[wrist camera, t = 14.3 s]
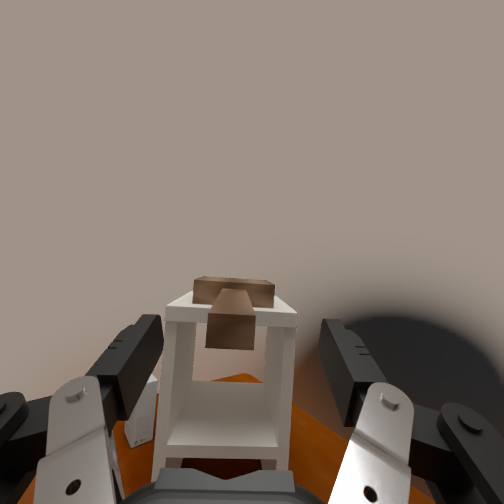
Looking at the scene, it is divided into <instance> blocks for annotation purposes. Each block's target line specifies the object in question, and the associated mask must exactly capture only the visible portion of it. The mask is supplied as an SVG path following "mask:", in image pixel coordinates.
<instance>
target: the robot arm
mask: <svg viewBox="0 0 504 504" xmlns="http://www.w3.org/2000/svg"><path fill="white" fill-rule="evenodd" d="M163 346H164V337H163V330H162V323H161V317H160V316H159V315H151V314H150V315H148V314H143V315H142V316H141V317H140V319H139V320H138V321H137V322H136V324H135V325H130V326H128V327H127V328H125V329H124V330H122V331H121V332H120V333H119V334H118V335H117V336H116V338H115V339H114V341H113V342H112V343H111V344H110V345H109V346H108V349H106V350H105V351H104V353H103V354H102V355H101V356H100V357H99V359H98V360H97V361H96V362H95V363H94V365H93V366H92V367H91V368H90V370H89V371H88V372H87V373H86V375H85V376H82V377H79V378H76V379H74V380H71V381H69V382H68V383H66V384H64V385H63V386H62V387H60V388H59V389H58V390H57V391H56V392H55V394H54V395H52V396H49V397H44V398H40V399H36V400H32V401H28V402H26V400H25V398H24V396H23V394H22V393H19V392H9V393H5V394H2V395H0V504H17V503H18V501H19V500H20V498H21V497H22V495H23V494H24V492H25V490H26V489H27V487H28V486H29V484H30V483H31V481H32V480H33V478H34V477H35V475H36V483H35V493H34V503H33V504H324V502H322V501H321V500H320V499H319V498H318V497H317V496H316V495H314V494H313V493H311V492H310V491H309V490H307V489H305V488H303V487H301V486H300V485H297V484H294V479H293V471H280V470H258V471H255V472H252V473H249V474H245V475H242V476H239V477H236V478H232V479H229V480H222V479H220V478H217V477H214V476H212V475H209V474H206V473H204V472H201V471H198V470H196V469H193V468H160V471H159V474H158V477H157V480H156V481H154V482H151V483H149V484H147V485H145V486H143V487H141V488H139V489H138V490H136V491H134V492H133V493H131V494H130V495H129V496H127V497H126V498H125V495H124V491H123V487H122V482H121V477H120V471H119V465H118V459H117V453H116V447H115V442H114V436H113V431H112V429H113V427H114V425H115V423H116V422H117V421H128V420H129V418H130V416H131V414H132V412H133V410H134V408H135V406H136V404H137V402H138V400H139V398H140V396H141V394H142V392H143V390H144V388H145V386H146V384H147V382H148V380H149V378H150V376H151V374H152V371H153V369H154V368H155V366H156V364H157V362H158V359H159V357H160V356H161V353H162V351H163ZM319 356H320V359H321V362H322V365H323V368H324V371H325V374H326V376H327V379H328V382H329V385H330V388H331V391H332V394H333V397H334V400H335V403H336V406H337V408H338V411H339V414H340V417H341V420H342V423H343V426H344V427H354V429H355V430H354V431H353V433H352V436H351V439H350V442H349V445H348V448H347V451H346V454H345V456H344V459H343V462H342V465H341V468H340V471H339V474H338V477H337V480H336V483H335V486H334V489H333V492H332V494H331V497H330V500H329V503H328V504H408V499H409V489H410V480H411V474H413V475H415V476H418V477H420V478H423V479H424V480H425V481H426V484H427V485H428V488H429V490H430V492H431V494H432V496H433V498H434V500H435V502H436V504H504V439H503V438H502V436H500V434H499V433H498V432H497V431H496V430H495V428H494V427H493V426H492V425H491V424H490V423H489V422H488V421H487V420H486V419H485V418H484V417H482V416H481V415H480V414H478V413H477V412H475V411H474V410H472V409H470V408H468V407H466V406H463V405H461V404H457V403H446V404H444V405H443V406H442V409H441V411H440V412H439V411H436V410H433V409H430V408H426V407H423V406H420V405H416V404H414V403H412V402H411V401H410V399H409V398H408V397H407V396H406V395H405V394H404V393H403V392H402V391H401V390H399V389H398V388H396V387H394V386H392V385H390V384H388V382H387V380H386V379H385V377H384V376H383V374H382V372H381V371H380V369H379V368H378V366H377V364H376V363H375V361H374V359H373V358H372V356H370V353H369V351H368V350H367V348H366V347H365V345H364V343H363V342H362V340H361V339H360V337H359V336H357V335H356V334H355V333H354V332H353V331H352V330H345V328H344V326H343V325H342V323H341V321H340V320H339V319H323V320H322V324H321V331H320V338H319Z"/></svg>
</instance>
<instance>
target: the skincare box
mask: <svg viewBox="0 0 504 504" xmlns="http://www.w3.org/2000/svg"><path fill="white" fill-rule="evenodd" d="M157 383H158V380H157V379H156V378H155V377H154V375H153V374H151V376H150V378H149V380H148V382H147V384H146V386H145V388H144V390H143V392H142V394H141V396H140V398H139V400H138V402H137V404H136V406H135V408H134V410H133V412H132V414H131V416H130V418H129V420H128V421H125V428H124V432H125V435H126V437H127V440H128V442H129V445H130V447H131V448H133V447H136V446H138V445H141V444H143V443H145V442H148V441H150V440H152V438H153V428H154V417H155V406H156V394H157Z"/></svg>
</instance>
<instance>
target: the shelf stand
mask: <svg viewBox="0 0 504 504" xmlns="http://www.w3.org/2000/svg"><path fill="white" fill-rule="evenodd" d="M192 300H193V291H191V292H189V293H187V294H185V295H184V296H182V297H180V298H178V299H177V300H175V301H173V302H172V303H170V304H168V305H166V311H165V321H166V323H165V334H164V346H163V358H162V368H161V379H160V390H159V401H158V412H157V423H156V435H155V446H154V457H153V468H152V479H151V482H154V481H156V480H157V477H158V474H159V471H160V468H181V464H182V460H183V458H227V459H261V465H262V470H280V471H288V461H289V443H290V425H291V407H292V389H293V370H294V354H295V337H296V328H297V318H298V313H297V312H296V311H294V310H293V309H292V308H291V307H289V306H288V305H287V304H285V303H284V302H283V301H282V300H281V299H279V298H278V297H277V296H274V308H256V307H253V309H254V312H255V314H256V322H255V326H267V336H266V351H265V367H264V382H263V383H240V382H214V381H192V373H193V361H194V349H195V336H196V324H197V323H198V322H199V323H207V320H208V312H209V311H210V309H211V307H212V305H205V304H192Z"/></svg>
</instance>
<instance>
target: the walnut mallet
mask: <svg viewBox="0 0 504 504" xmlns="http://www.w3.org/2000/svg"><path fill="white" fill-rule="evenodd" d="M274 290H275V285H274V284H272V283H270V282H268V281H266V280H251V279H236V278H221V277H206V276H203V277H201V278H198V279H195V280H194V288H193V300H192V304H205V305H212V307H211V309H210V311H209V312H208V320H207V333H206V346H205V348H217V349H238V350H254V337H255V322H256V314H255V312H254V309H253V307H256V308H274V292H275V291H274Z"/></svg>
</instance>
